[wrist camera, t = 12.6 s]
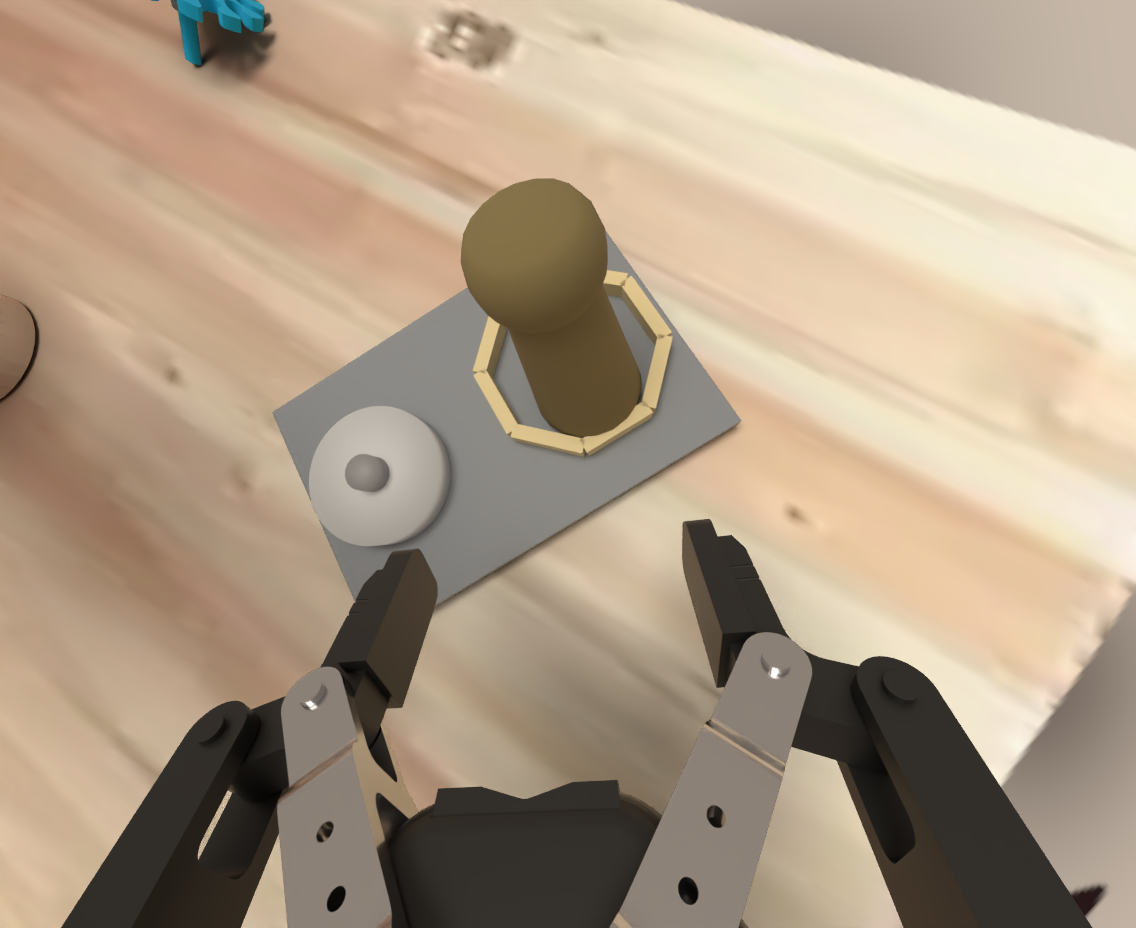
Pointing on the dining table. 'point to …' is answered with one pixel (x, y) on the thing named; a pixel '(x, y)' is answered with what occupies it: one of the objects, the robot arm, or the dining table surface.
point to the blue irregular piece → (231, 7)
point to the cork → (554, 302)
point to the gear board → (483, 440)
